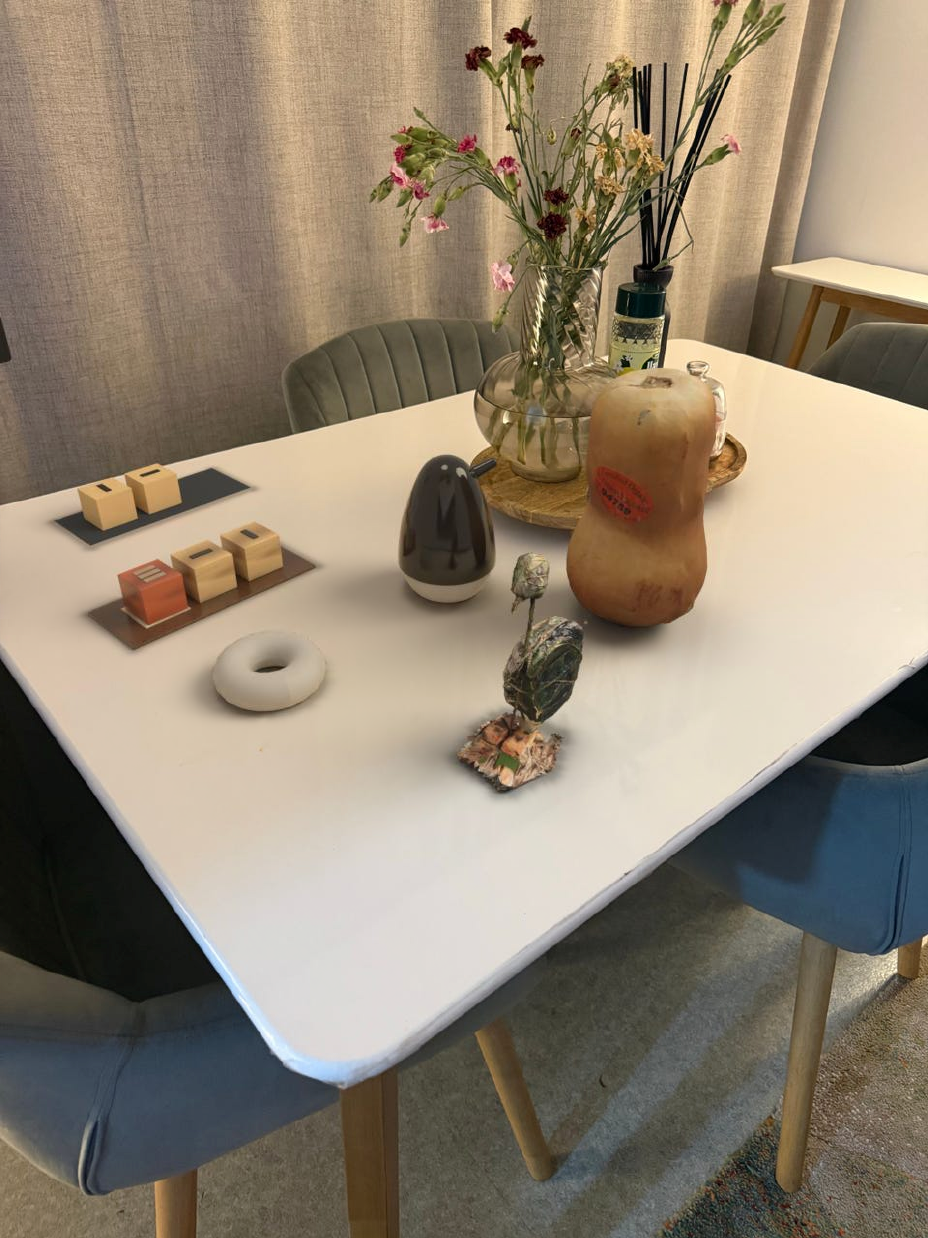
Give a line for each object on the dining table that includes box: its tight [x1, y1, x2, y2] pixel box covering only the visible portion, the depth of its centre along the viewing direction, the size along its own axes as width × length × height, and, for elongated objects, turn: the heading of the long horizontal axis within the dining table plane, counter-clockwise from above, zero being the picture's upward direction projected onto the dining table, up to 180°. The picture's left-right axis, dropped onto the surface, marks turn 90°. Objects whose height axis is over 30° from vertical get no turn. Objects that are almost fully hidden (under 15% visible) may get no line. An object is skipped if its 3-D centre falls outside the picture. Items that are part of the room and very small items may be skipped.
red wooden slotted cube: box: [116, 558, 188, 625], centre depth 89 cm, size 4×4×4 cm
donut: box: [212, 630, 327, 712], centre depth 80 cm, size 10×4×10 cm
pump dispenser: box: [397, 453, 498, 604], centre depth 90 cm, size 10×10×15 cm
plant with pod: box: [457, 552, 588, 791], centre depth 68 cm, size 8×11×20 cm
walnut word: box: [87, 521, 317, 651], centre depth 93 cm, size 9×22×5 cm, turn 137°
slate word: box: [54, 462, 251, 546], centre depth 109 cm, size 9×22×5 cm, turn 137°
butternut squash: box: [565, 367, 717, 629], centre depth 84 cm, size 14×13×25 cm
